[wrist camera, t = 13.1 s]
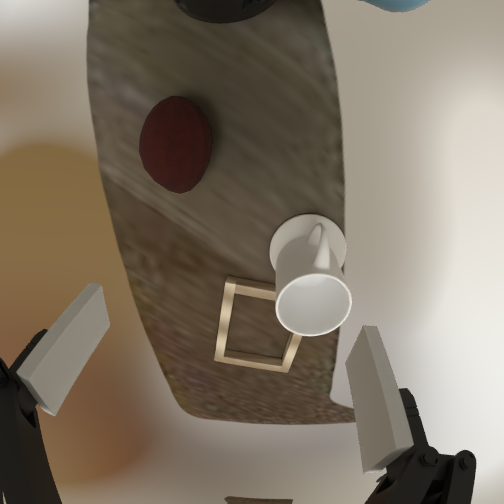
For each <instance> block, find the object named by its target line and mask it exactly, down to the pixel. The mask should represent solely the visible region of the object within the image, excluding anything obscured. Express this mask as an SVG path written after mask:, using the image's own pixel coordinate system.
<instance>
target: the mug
mask: <svg viewBox="0 0 504 504" xmlns="http://www.w3.org/2000/svg"><path fill="white" fill-rule="evenodd" d="M351 305H352V298H351V293H350V290H349V288H348V285H347V283H346V280H345V278H344V275H343V273H342V271H341V268H340V266H339V263H338V261H337V259H336V256H335V254H334V253H333V251H332V249H331V248H330V247H329V241H328V235H327V232H326V229H325V227H324V225H323V224H322V223H318V224H316V225H315V226H314V228H313V229H312V231H311V233H310V235H309V237H304V238H299V239H296V240H293V241H291V242H290V243H288V244H287V245H286V246H285V247H284V248H283V249H282V250H281V252H280V253H279V255H278V258H277V261H276V314H277V317H278V319H279V321H280V322H281V324H282V325H283V326H284V327H285V328H286V329H288V330H289V331H291V332H293V333H295V334H298V335H303V336H318V335H322V334H326V333H328V332H330V331H332V330H334V329H336V328H337V327H338V326H340V325H341V324H342V323H343V322H344V320H345V319H346V318H347V316H348V315H349V312H350V310H351Z"/></svg>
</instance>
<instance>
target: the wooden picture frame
mask: <svg viewBox="0 0 504 504" xmlns="http://www.w3.org/2000/svg"><path fill="white" fill-rule="evenodd" d="M235 293H237V294H243V295H248V296H253V297H259V298H264V299H270V300H275V301H276V285H275V284H269V283H264V282H258V281H253V280H248V279H242V278H237V277H232V276H227V279H226V282H225V289H224V296H223V303H222V310H221V316H220V323H219V331H218V338H217V345H216V352H215V361H220V362H225V363H230V364H235V365H241V366H247V367H253V368H259V369H265V370H272V371H279V372H287V373H288V371H289V368H290V366H291V363H292V361H293V358H294V356H295V353H296V351H297V348H298V346H299V343H300V340H301V338H302V335H298V334H295V333H293V332H291V334H290V336H289V339H288V342H287V345H286V348H285V351H284V353H283V356H282V359H281V358H274V357H268V356H261V355H255V354H249V353H244V352H238V351H233V350H227V349H225V347H226V341H227V335H228V329H229V323H230V317H231V311H232V305H233V299H234V294H235Z"/></svg>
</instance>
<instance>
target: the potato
mask: <svg viewBox="0 0 504 504" xmlns="http://www.w3.org/2000/svg"><path fill="white" fill-rule="evenodd" d="M211 148H212V136H211V129H210V126H209V123H208V121H207V118H206V116H205V115H204V113H203V112H202V111H201V109H200V108H199V107H198V106H197V105H195V104H194V103H193V102H192V101H190V100H188V99H186V98H183V97H179V96H171V97H169V98H166V99H164V100H162V101H160V102H159V103H158V104H157V105H156V106H155V107H153V109H152V110H151V112H150V113H149V115H148V116H147V118H146V120H145V123H144V125H143V128H142V132H141V135H140V145H139V153H140V156H141V159H142V162H143V165H144V168H145V170H146V171H147V172H148V173H149V175H150V176H151V177H152V178H153V180H154V181H155V182H157V183H158V184H160V185H161V186H163V187H164V188H166V189H167V190H169V191H172V192H176V193H179V194H181V193H184V192H187V191H190V190H191V189H192V188H193V187H194V186H195V185H196V184H197V183H198V182H199V181H200V180H201V178H202V176H203V174H204V172H205V170H206V168H207V166H208V163H209V161H210V155H211Z"/></svg>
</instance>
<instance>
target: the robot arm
mask: <svg viewBox="0 0 504 504" xmlns="http://www.w3.org/2000/svg"><path fill="white" fill-rule="evenodd" d="M275 1H276V0H174V2H175V3H176V4H177V5H178V7H179V8H180V9H181V10H182V11H183V12H184V13H186V14H187V15H189V16H191V17H193V18H195V19H197V20H201V21H205V22H211V23H230V22H236V21H241V20H245V19H248V18H251V17H253V16H255V15H258V14H259V13H261V12H263V11H265V10H266V9H267V8H269V7H270V6H271V5H272V4H273V3H274V2H275ZM362 1H365V2H367V3H370V4H372V5H375V6H377V7H379V8H381V9H384V10H386V11H390V12H407V11H410V10H414V9H416V8H418V7H420V6H422V5H424V4H425V3H427V2H428V1H430V0H362ZM109 327H110V322H109V318H108V313H107V309H106V305H105V300H104V295H103V290H102V286H101V285H98V284H94V283H89V284H88V285H87V286H86V287H85V288H84V290H83V291H82V292H81V293H80V294H79V295H78V296H77V297H76V298H75V300H74V301H73V302H72V303H71V304H70V305H69V307H68V308H67V309H66V310H65V311H64V312H63V313H62V315H61V316H60V317H59V318H58V319H57V321H56V322H55V323H54V324H53V325H52V326H51V328H50V329H49V330H46V329H43V330H42V331H40V332H38V333H37V334H36V335H35V336H34V337H33V339H32V340H31V341H30V343H28V345H27V346H26V348H25V349H24V350H23V351H22V352H21V354H20V355H19V356H18V357H17V359H16V360H15V362H14V363H13V364H12V365H11V367H10V368H9V369H8V367H7V366H6V364H5V363H4V361H3V360H2V359H1V358H0V504H4V503H3V493H4V497H5V500H6V504H62V502H61V499H60V496H59V494H58V491H57V488H56V485H55V482H54V479H53V476H52V473H51V470H50V466H49V463H48V459H47V455H46V451H45V448H44V444H43V439H42V435H41V430H40V425H39V419H38V413H37V410H36V408H35V406H36V405H37V403H38V404H39V406H40V407H41V408H42V410H44V411H46V412H47V413H49V414H51V415H53V416H55V415H56V414H57V412H58V410H59V408H60V406H61V405H62V403H63V401H64V399H65V397H66V396H67V394H68V392H69V391H70V389H71V387H72V385H73V384H74V382H75V380H76V379H77V377H78V375H79V374H80V372H81V370H82V369H83V367H84V366H85V364H86V362H87V361H88V359H89V357H90V356H91V354H92V353H93V351H94V350H95V348H96V347H97V345H98V343H99V342H100V340H101V339H102V337H103V335H104V334H105V333H106V331H107V330H108V328H109ZM346 368H347V373H348V378H349V384H350V389H351V394H352V400H353V406H354V412H355V418H356V424H357V431H358V438H359V444H360V451H361V459H362V468H363V474H366V473H375V472H380V471H381V470H383V469H384V468H385V467H386V469H387V473H386V474H384V475H383V476H381V477H380V478H379V479H378V480H377V481H376V482H379V481H380V483H379V484H378V486H377V487H376V488H375V490H374V492H373V493H372V494H371V495H370V497H369V498H368V500H367V501H366V502H365V504H471V499H472V493H473V486H474V480H475V472H476V458H475V456H474V454H473V453H472V452H470V451H468V450H463V451H460V452H459V453H457V454H456V455H455V456H454V455H444V454H439V453H438V451H437V450H436V449H435V448H433V447H430V446H429V445H428V442H427V439H426V435H425V432H424V428H423V425H422V421H421V418H420V416H419V411H418V409H417V405H416V402H415V399H414V397H413V395H412V394H411V393H410V391H409V390H408V389H407V388H402V389H398V386H397V383H396V380H395V377H394V374H393V371H392V368H391V365H390V362H389V359H388V356H387V353H386V350H385V348H384V345H383V342H382V339H381V337H380V334H379V331H378V328H377V327H376V326H363V327H362V329H361V331H360V334H359V336H358V338H357V340H356V342H355V344H354V346H353V348H352V350H351V353H350V355H349V357H348V359H347V361H346Z"/></svg>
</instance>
